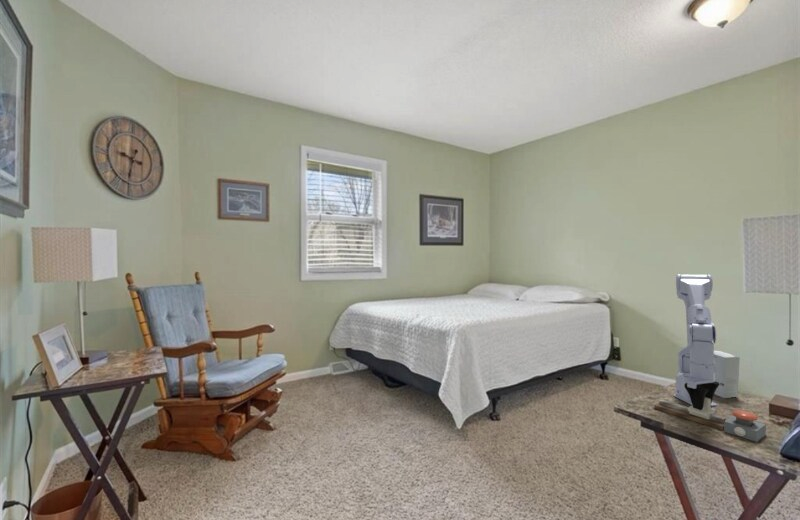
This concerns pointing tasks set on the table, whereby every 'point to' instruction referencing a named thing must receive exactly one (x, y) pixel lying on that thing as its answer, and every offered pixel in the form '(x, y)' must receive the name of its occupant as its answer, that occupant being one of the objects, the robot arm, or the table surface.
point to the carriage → (705, 411)
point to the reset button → (744, 417)
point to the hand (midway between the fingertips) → (702, 406)
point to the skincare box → (726, 374)
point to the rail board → (684, 413)
